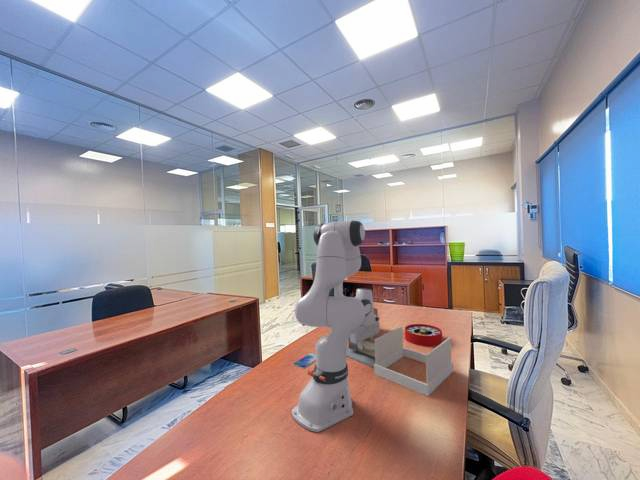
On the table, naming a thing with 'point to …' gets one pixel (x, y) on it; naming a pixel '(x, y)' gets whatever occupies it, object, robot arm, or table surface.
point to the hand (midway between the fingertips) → (365, 346)
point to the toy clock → (423, 335)
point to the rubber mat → (360, 357)
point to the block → (368, 346)
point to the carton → (436, 360)
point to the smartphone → (306, 361)
